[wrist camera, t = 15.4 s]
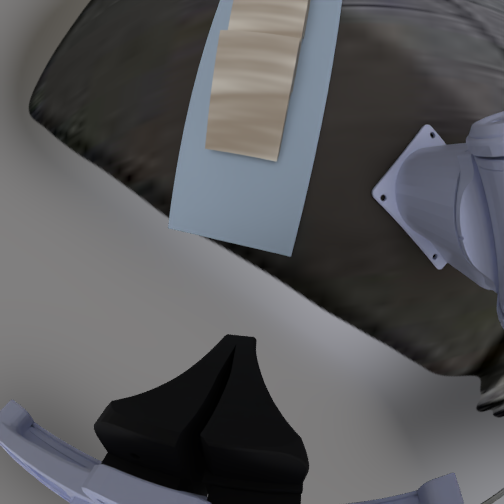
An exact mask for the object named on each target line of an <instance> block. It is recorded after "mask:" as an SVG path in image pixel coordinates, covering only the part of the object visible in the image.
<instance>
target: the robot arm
mask: <svg viewBox="0 0 504 504" xmlns="http://www.w3.org/2000/svg"><path fill="white" fill-rule="evenodd" d="M430 133H432V134H433V138H431V136H430ZM381 195H384V196H385V199H384V200H383V201H381V199H380V197H381ZM372 196H373V198H374V199H375V200H376V201H377V202H378V203H379V204H380V205H381V206H382V207H383V208H384V209H385V210H386V211H387V212H388V213H389V214H390V215H391V216H392V217H393V218H394V219H395V221H396V222H397V223H398V224H399V225H400V226H401V227H402V228H403V229H404V230H405V232H406V233H407V234H408V235H409V236H410V237H411V238H412V240H413V241H414V242H415V243H416V244H417V245H418V247H419V248H420V249H421V250H422V251H423V252H424V254H425V255H426V256H427V257H428V259H429V260H430V261H431V262H432V264H433V265H434V266H435V267H436V268H437V269H442V268H443V267H444V266H445V265H446V263H449V264H450V265H452V266H453V267H454V268H456V269H457V270H459V271H460V272H461V273H463V274H464V275H466V276H467V277H468V278H470V279H471V280H472V281H474V282H475V283H476V284H478V285H479V286H481V287H482V288H485V289H488V290H493V291H495V292H496V293H498V297H497V314H498V319H499V321H500V323H501V326H502V327H503V329H504V111H502V112H499V113H496V114H493V115H490V116H488V117H485V118H483V119H481V120H479V121H477V122H475V123H474V124H473V125H472V126H471V129H470V132H469V135H468V136H467V138H466V143H459V144H449V145H446V143H445V142H444V141H443V140H442V138H441V137H440V136H439V135H438V134H437V133H436V131H435V130H434V129H433V128H432V127H431V126H430V125H428V124H427V125H424V126H422V128H421V129H420V130H419V132H418V133H417V134H416V136H415V137H414V138H413V140H412V141H411V142H410V143H409V145H408V146H407V147H406V148H405V150H404V151H403V152H402V154H401V155H400V156H399V157H398V159H397V160H396V161H395V162H394V164H393V165H392V166H391V167H390V168H389V170H388V171H387V172H386V173H385V175H384V176H383V177H382V178H381V179H380V181H379V182H378V183H377V184H376V186H375V187H374V188H373V189H372ZM434 254H435V257H434V258H433V255H434ZM94 430H95V433H96V435H97V436H98V438H99V440H100V441H101V443H102V444H103V446H104V447H105V449H106V450H107V452H108V453H107V454H106V456H105V458H104V460H103V461H100V460H97V459H96V458H94V457H92V456H90V455H88V454H86V453H83V452H82V451H80V450H78V449H76V448H75V447H73V446H71V445H69V444H68V443H66V442H64V441H63V440H61V439H59V438H58V437H56V436H54V435H53V434H51V433H50V432H48V431H47V430H45V429H44V428H42V427H41V426H39V425H38V424H37V423H35V422H34V421H33V419H32V417H31V416H30V414H29V413H28V412H27V411H26V410H25V409H24V408H23V407H22V406H20V405H19V404H18V403H17V402H15V401H14V400H10V401H9V402H8V403H7V404H6V405H5V407H3V409H2V410H1V411H0V445H1V446H2V447H3V448H4V450H5V451H6V452H7V453H8V454H9V455H10V456H11V457H12V458H13V459H14V460H15V461H16V462H17V463H18V464H20V465H21V466H22V467H23V468H24V469H25V470H27V471H28V472H29V473H30V474H32V475H33V476H34V477H35V478H37V479H38V480H39V481H40V482H42V483H43V484H44V485H46V486H47V487H48V488H49V489H51V490H52V491H53V492H55V493H56V494H58V495H59V496H61V497H62V498H63V499H65V500H66V501H68V502H70V504H301V494H302V491H303V481H304V479H305V477H306V475H307V473H308V470H309V462H308V457H307V453H306V450H305V447H304V444H303V442H302V439H301V437H300V436H299V435H298V434H297V433H296V432H295V431H294V430H293V428H292V427H291V426H290V425H289V424H288V422H287V421H286V420H285V418H284V417H283V416H282V414H281V413H280V411H279V410H278V408H277V407H276V405H275V403H274V402H273V400H272V398H271V396H270V394H269V392H268V390H267V388H266V385H265V383H264V381H263V378H262V375H261V372H260V369H259V365H258V361H257V356H256V339H255V338H254V337H247V336H238V335H229V334H228V335H226V336H224V338H223V339H222V340H221V341H220V342H219V343H218V344H217V345H216V346H215V347H214V348H213V349H212V350H211V351H210V352H209V353H208V354H206V355H205V356H204V357H203V358H202V359H201V360H200V361H198V362H197V363H196V364H195V365H193V366H192V367H191V368H190V369H188V370H187V371H185V372H184V373H183V374H181V375H179V376H178V377H176V378H174V379H173V380H171V381H169V382H167V383H165V384H163V385H161V386H159V387H157V388H154V389H152V390H150V391H147V392H144V393H142V394H138V395H135V396H132V397H128V398H124V399H119V400H115V401H112V402H111V403H110V404H109V405H108V406H107V407H106V409H105V410H104V411H103V413H102V414H101V416H100V417H99V419H98V420H97V422H96V423H95V424H94ZM207 495H208V497H207ZM348 504H464V502H463V498H462V495H461V491H460V489H459V485H458V482H457V479H456V475H455V473H450V474H447V475H444V476H441V477H438V478H435V479H432V480H430V481H428V482H426V483H425V484H423V485H422V486H421V487H420V488H419V489H418V490H416V491H413V492H409V493H405V494H401V495H396V496H392V497H387V498H382V499H376V500H371V501H364V502H357V503H348Z"/></svg>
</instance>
